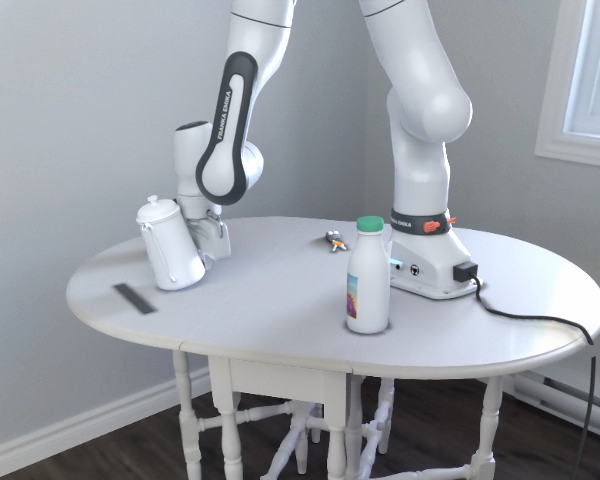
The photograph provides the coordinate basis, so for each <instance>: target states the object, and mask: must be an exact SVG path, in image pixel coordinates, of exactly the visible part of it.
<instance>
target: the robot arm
mask: <svg viewBox="0 0 600 480" xmlns="http://www.w3.org/2000/svg"><path fill="white" fill-rule="evenodd" d="M297 1H298V0H231V4H230V11H229V18H228V26H227V35H226V44H225V54H224V62H223V69H222V77H221V82H220V86H219V91H218V96H217V100H216V101H217V102H216V106H215V107H216V108H215V111H214V117H213V122H212V123H211V122H209V121H207V120H199V121H192V122H189V123H186V124H182V125H180V126H178V127H177V128H176V129H175V130H174V131H173V134H172V144H171V145H172V147H171V148H172V149H171V150H172V160H173V161H172V162H173V170H174V174H175V176H176V180H177V186H176V195H177V196H174V197H172V198H171V200H173V201H174V202H175V203H176V204H177V205H179V206H180V209H181V214H182V216H183V219H184V221H185V223H186V226H187V228H188V230H189V233H190V235H191V237H192V240H193V242H194V244H195V247H196V249H197V252H198V254H199V256H200V259H201V261H202V263H203V266H204V269H205V271H206V272H207V271H212V270H213V267H214V266H213V261H215V262H218V261H225V260H228V259H230V258H231V254H232V252H231V243H230V236H229V232H228V227H227V225H226V222H224V221H223V220H221V216H220V215H221V213H222V206H223V207H227V206H233V205H234V204H236V203H238V202H240V200H242V198H243V197H244V196H245V194H246V192H248V191H249V190H250V189H251V188H252V187H253V186H254V185H255V184H256V183H257V182H258V181H259V179H260V178H261V177H262V175H263V172H264V167H265V162H264V161H265V160H264V157H263V154H262V152H261V150H260V149H259V147H258V146H257V145H256V144H255V143H254V142H252V141H250V140H248V139H247V137H248V132H249V128H250V123H251V118H252V113H253V109H254V106H255V103H256V100H257V98H258V95H259V94H260V93H261V91H262V89H263V88H264V86H265V85H266V83H268V82H269V80H270V79H271V77H273V75H274V74H275V73H276V72H277V70H278V69H279V68H280V66H281V64H282V61H283V58H284V56H285V53H286V50H287V48H288V44H289V41H290V40H289V39H290V35H291V30H292V24H293V18H294V13H295V8H296V4H297ZM357 1H358V4H359V7H360V10H361V13H362V17H363V19H364V22H365V24H366V28H367V31H368V34H369V36H370V39H371V42H372V45H373V48H374V51H375V54H376V58H377V61H378V62H379V64H380V65H381V66H382V69H383V70H384V72H385V73H386V75H387V78H388V79H389V81H390V83H391V85H392V86H391V88H390V90H389V92H388V94H387V97H386V111H387V114H388V118H389V126H390V137H391V146H392V147H391V149H392V155H393V156H392V157H393V166H394V183H393V205H392V208H391V210H390V215H389V218H390V223H389V225H390V227H391V232H390V236H389V239H388V243H387V248H386V252H387V254H388V257H389V261H390V287H391V286H392V287H394V288H397V289H401V290H404V291H407V292H410V293H413V294H416V295H420V296H423V297H426V298H429V299H433V300H449V299H452V298H453V299H454V298H458V297H462V296H466V295H468V294H471V293H473V292H475V297H476V300H477V301H478V302H480V303H482V298H481V295H480V291H481V289H482V287H483V285H484V280H483V279H482V278H480V277H478V269H479V264H478V263H475V262H473V258H472V255H471V254H470V252H469V251H468V249H467V248H466V247H465V246H464V245H463V244H462V242H461V241H460V240H459V238H458V237H457V236H456V234H455V233H454V232H453V230H452V228H453V227H452V224H455V223H456V221H455V220H456V219H457V217H455V216H454V217H451V216H450V211H449V209H448V198H449V189H450V177H451V176H450V175H451V169H450V165H449V162H448V158H447V154H446V153H447V152H446V147H445V146H446V145H445V144H449V143H452V142H454V141H456V140H458V139H459V138H460V137H462V136H463V134H464V133H466V131H467V129H468V128H469V125H470V124H471V120H472V117H473V105H472V102H471V99H470V97H469V96H468V94H467V93H466V91H465V90H464V88H463V86H462V85H461V84H460V81H459V78H458V77H457V74H456V72H455V70H454V68H453V65H452V63H451V61H450V58H449V56H448V55H447V52H446V51H445V49H444V47H443V44H442V43H441V40H440V37H439V35H438V32H437V30H436V27H435V23H434V20H433V16H432V15H431V10H430V7H429V4H428V0H357ZM484 309H485V310H486V311H487V312H489V313H491V314H494V315H497V316H501V317H504V318H507V319H514V320H515V319H516V320H538V321H539V320H543V321H553V322H558V323H561V324H565V325H568V326H572V327H575V328H576V329H579V330H580V331H581V333H582V334H583V336H584V337H585V339H586V341H587V344H588V345H590V346H594V345H595V344H594V341H593V339H592V337H591V335H590V333H589V331H588V330H587V329H586V327H584V325H582V324H580V323H578V322H575V321H572V320H568V319H566V318H562V317H558V316H551V315H532V314H531V315H530V314H529V315H525V314H512V313H508V312H504V311H501V310H496V309H494V308H489V307H486V306H485V308H484ZM590 361H591V362H590V363H591V364H590V380H589V391H588V392H589V393H588V401H587V407H586V414H585V418H584V424H583V428H582V433H581V436H580V441H579V445H578V450H577V453H576V457H575V460H574V463H573V467H572V471H571V473H570V478H569V480H575V478H576V475H577V472H578V466H579V464H580V460H581V457H582V452H583V449H584V447H585V442H586V439H587V434H588V430H589V425H590V420H591V415H592V409H593V402H594V395H595V385H596V369H597V368H596V367H597V355H594V356H592V357H591V359H590Z"/></svg>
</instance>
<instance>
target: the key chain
mask: <svg viewBox="0 0 600 480" xmlns="http://www.w3.org/2000/svg"><path fill="white" fill-rule="evenodd" d="M325 237H326V238H327V240H328V241H329V242H331V244H332V245H333V248H332V252H335V251H336V249H337V248H338V247H339V248H340V249H342V250H347V248H346V247H345V243H344V242H343V243H342V242H341V240H342V239H341V234H340V232H339V231H338V230H332V231H327V232H325Z"/></svg>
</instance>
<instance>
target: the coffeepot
mask: <svg viewBox="0 0 600 480" xmlns="http://www.w3.org/2000/svg"><path fill="white" fill-rule="evenodd" d="M146 199H147V202H148V203H146V204H144V205H143V206H141V207H140V208H139V209H138V210H137V212H136V218H135V221H136V223H137V225H138V227H139V230H140V234H141V237H142V240H143V243H144V247H145V250H146V254H147V258H148V260H149V263H150V267H151V270H152V274H153V277H154V280H155V282H156V283H155V284H156V286H157V287H158V288H160V289H161V290H164V291H177V290H181V289H185V288H187V287H190V286H192V285H194V284H196V283H198V282H199V281H201V279H202V278H203V276H204V275H205V273H206V272H205V271H206V270H205V269H204V266H203V263H202V261H201V259H200V256H199V254H198V252H197V249H196V247H195V244H194V242H193V240H192V237H191V235H190V233H189V230H188V228H187V226H186V223H185V221H184V219H183V216H182V214H181V209H180V206H179V205H177V204H176V203H175V202H174V201H173V200H172V199H169V198H163V199H159V197H158V195H157V194H153V195H150V196H148V197H147V198H146Z"/></svg>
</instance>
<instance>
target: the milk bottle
mask: <svg viewBox="0 0 600 480" xmlns="http://www.w3.org/2000/svg"><path fill="white" fill-rule="evenodd" d="M384 224H385V223H384V219H383V218H382V217H381V216H376V215H364V216H360V217H357V219H356V233H357V237H356V241H355V245H354V247H353V249H352V251H351V253H350V255H349V258H348V261H347V270H346V271H347V274H346V324H347V327H348V329H349V330H351V331H352V332H355V333H359V334H365V335H366V334H367V335H369V334H378V333H381V332H383V331H385V330H386V329H387V327H388V325H389V320H390V319H389V318H390V316H389V315H390V297H391V292H390V291H391V285H390V261H389V257H388V254H387V248H386V246H385V244H384V239H383V233H384Z"/></svg>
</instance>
